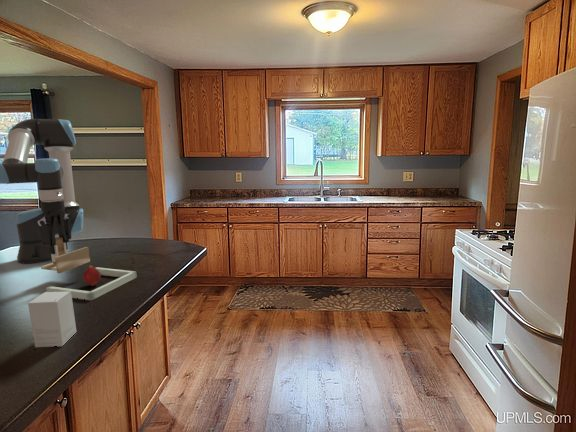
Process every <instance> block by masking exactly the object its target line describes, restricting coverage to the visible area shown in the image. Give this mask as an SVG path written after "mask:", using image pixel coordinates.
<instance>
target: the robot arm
mask: <svg viewBox="0 0 576 432" xmlns="http://www.w3.org/2000/svg"><path fill="white" fill-rule="evenodd" d="M7 140H8V144H7V147H6V149H5V152H4V157H3V159H2V162H0V185H1V184H3V185H10V184H29V183H31V184H32V183H37V186H38V187H37V189H38V197H39V200H40V203H39V204H40V208H34V209H28V210H25V211H21V212H18V213H17V214H16V217H15V220H16V221H15V222H16V223H15V225H16V228H17V234H18V240H19V241H18V242H19V247H18V253H17V256H16V259H17V263H19V264H36V263H41V262H46V261H50V260H51V261H52V262H51V263H53V262H55V257H57V256H59V254H58V247H57V245H55V237H56V236H58V237H62V238H63V245H64V252H65V254H66V253H68V243H69V242H70V240H72V234H77V233H78V234H79V233H81V232H82V231H83V227H84V208H81V207H80V204H78V203H77V202H76V193H75V185H74V178H73V176H74V175H73V168H72V160H71V159H72V158H71V152H72V151H73V150H74V146H75V145H77V142H76V136H75V133H74V130H73V125H72V123H71V121H70V120H69V119H68V120H67V119H60V118H57V119H56V118H28V119H24V120H22V121H19V122H18V123H16V124H15V125H14V126H12V127H11V129H9V131H8V134H7ZM34 145H35V146H36V145H37V146H39V145H41V146H43V148H44V150H45V151H46V152H48V156H49V157H48V158H36V159H35V160H34V162H28V160H29V156H30V150H31V147H33V146H34Z"/></svg>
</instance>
